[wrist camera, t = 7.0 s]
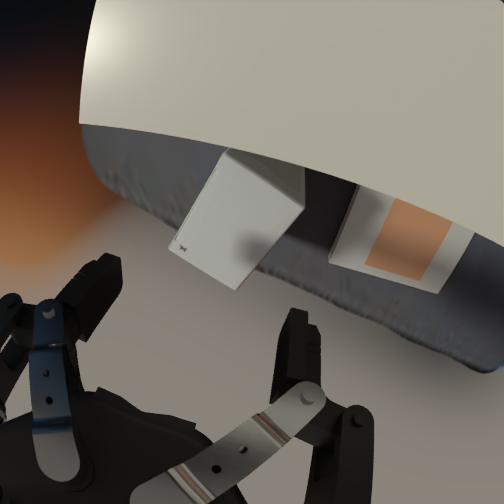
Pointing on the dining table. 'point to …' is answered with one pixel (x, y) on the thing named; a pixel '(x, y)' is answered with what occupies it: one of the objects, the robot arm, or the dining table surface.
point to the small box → (240, 215)
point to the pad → (398, 241)
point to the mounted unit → (319, 89)
